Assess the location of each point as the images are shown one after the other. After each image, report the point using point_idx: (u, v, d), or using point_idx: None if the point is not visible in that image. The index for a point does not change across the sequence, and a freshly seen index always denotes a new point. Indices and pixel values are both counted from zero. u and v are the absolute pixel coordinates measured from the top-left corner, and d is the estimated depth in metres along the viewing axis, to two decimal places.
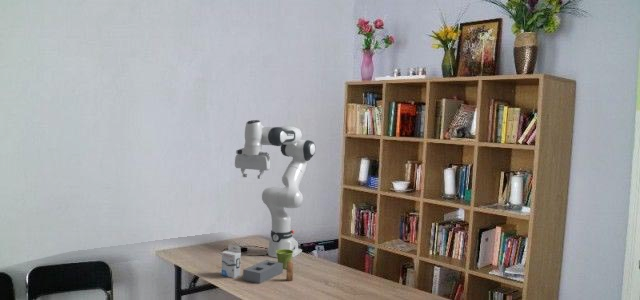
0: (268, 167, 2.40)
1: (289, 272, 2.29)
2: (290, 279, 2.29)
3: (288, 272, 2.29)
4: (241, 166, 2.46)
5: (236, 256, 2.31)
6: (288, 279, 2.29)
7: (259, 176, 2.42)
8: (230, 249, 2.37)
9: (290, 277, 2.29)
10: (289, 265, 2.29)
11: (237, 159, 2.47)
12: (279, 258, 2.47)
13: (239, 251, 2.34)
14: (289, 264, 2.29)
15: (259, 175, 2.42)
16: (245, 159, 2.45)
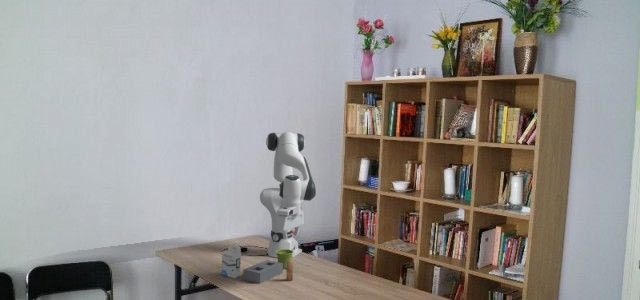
0: None
1: (289, 272, 2.29)
2: (290, 279, 2.29)
3: (288, 272, 2.29)
4: (288, 228, 2.23)
5: (236, 256, 2.31)
6: (288, 279, 2.29)
7: (297, 233, 2.33)
8: (230, 249, 2.37)
9: (290, 277, 2.29)
10: (289, 265, 2.29)
11: (286, 221, 2.21)
12: (279, 258, 2.47)
13: (239, 251, 2.34)
14: (289, 264, 2.29)
15: (297, 232, 2.33)
16: (290, 219, 2.25)
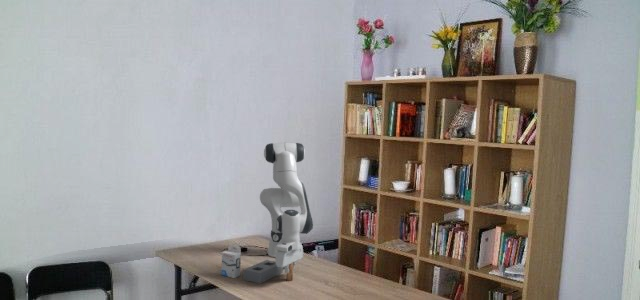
0: None
1: (289, 272, 2.29)
2: (290, 279, 2.29)
3: None
4: (287, 263, 2.24)
5: (236, 256, 2.31)
6: (288, 279, 2.29)
7: None
8: (230, 249, 2.37)
9: (290, 277, 2.29)
10: (289, 265, 2.29)
11: (285, 257, 2.22)
12: None
13: (239, 251, 2.34)
14: (289, 264, 2.29)
15: None
16: (289, 254, 2.26)
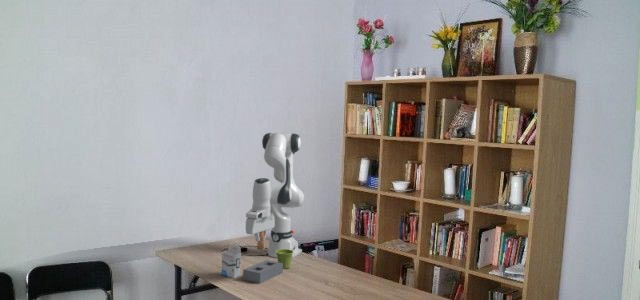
0: None
1: (260, 240, 2.28)
2: (261, 247, 2.28)
3: None
4: (257, 231, 2.24)
5: (236, 256, 2.31)
6: (259, 247, 2.28)
7: None
8: (230, 249, 2.37)
9: (261, 245, 2.28)
10: (260, 233, 2.28)
11: (254, 224, 2.21)
12: (279, 258, 2.47)
13: (239, 251, 2.34)
14: (260, 232, 2.28)
15: (265, 235, 2.31)
16: (259, 222, 2.25)
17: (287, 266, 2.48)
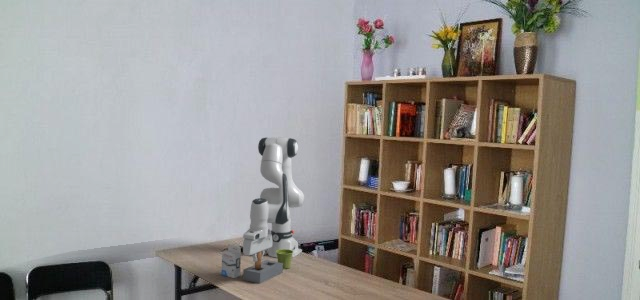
0: None
1: None
2: (258, 267, 2.29)
3: None
4: (254, 251, 2.24)
5: (236, 256, 2.31)
6: (256, 267, 2.29)
7: (262, 256, 2.32)
8: (230, 249, 2.37)
9: (258, 265, 2.29)
10: (257, 253, 2.29)
11: (252, 245, 2.22)
12: (279, 258, 2.47)
13: (239, 251, 2.34)
14: None
15: (262, 255, 2.32)
16: (257, 242, 2.26)
17: (287, 266, 2.48)
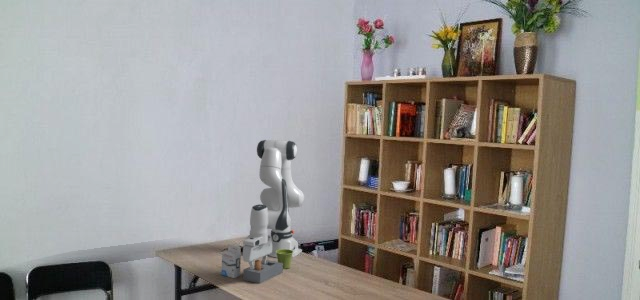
0: None
1: None
2: None
3: None
4: (254, 258, 2.24)
5: (236, 256, 2.31)
6: None
7: (265, 261, 2.34)
8: (230, 249, 2.37)
9: None
10: (257, 264, 2.29)
11: (252, 252, 2.22)
12: (279, 258, 2.47)
13: (239, 251, 2.34)
14: (257, 263, 2.29)
15: (265, 260, 2.34)
16: (256, 249, 2.26)
17: (287, 266, 2.48)
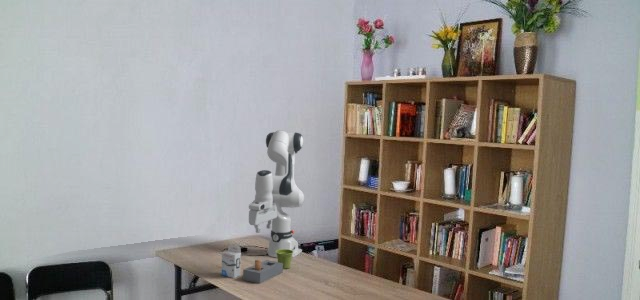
0: None
1: None
2: None
3: None
4: (260, 222, 2.31)
5: (236, 256, 2.31)
6: None
7: (270, 225, 2.41)
8: (230, 249, 2.37)
9: None
10: (257, 264, 2.29)
11: (257, 216, 2.28)
12: (279, 258, 2.47)
13: (239, 251, 2.34)
14: (257, 263, 2.29)
15: (270, 224, 2.41)
16: (262, 213, 2.32)
17: (287, 266, 2.48)
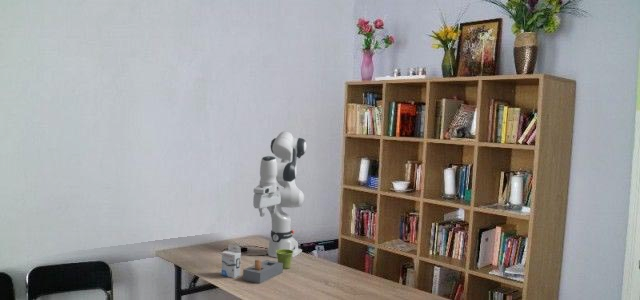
0: None
1: None
2: None
3: None
4: (264, 205, 2.36)
5: (236, 256, 2.31)
6: None
7: (274, 211, 2.47)
8: (230, 249, 2.37)
9: None
10: (257, 264, 2.29)
11: (262, 199, 2.34)
12: (279, 258, 2.47)
13: (239, 251, 2.34)
14: (257, 263, 2.29)
15: (274, 210, 2.47)
16: (266, 197, 2.38)
17: (287, 266, 2.48)
